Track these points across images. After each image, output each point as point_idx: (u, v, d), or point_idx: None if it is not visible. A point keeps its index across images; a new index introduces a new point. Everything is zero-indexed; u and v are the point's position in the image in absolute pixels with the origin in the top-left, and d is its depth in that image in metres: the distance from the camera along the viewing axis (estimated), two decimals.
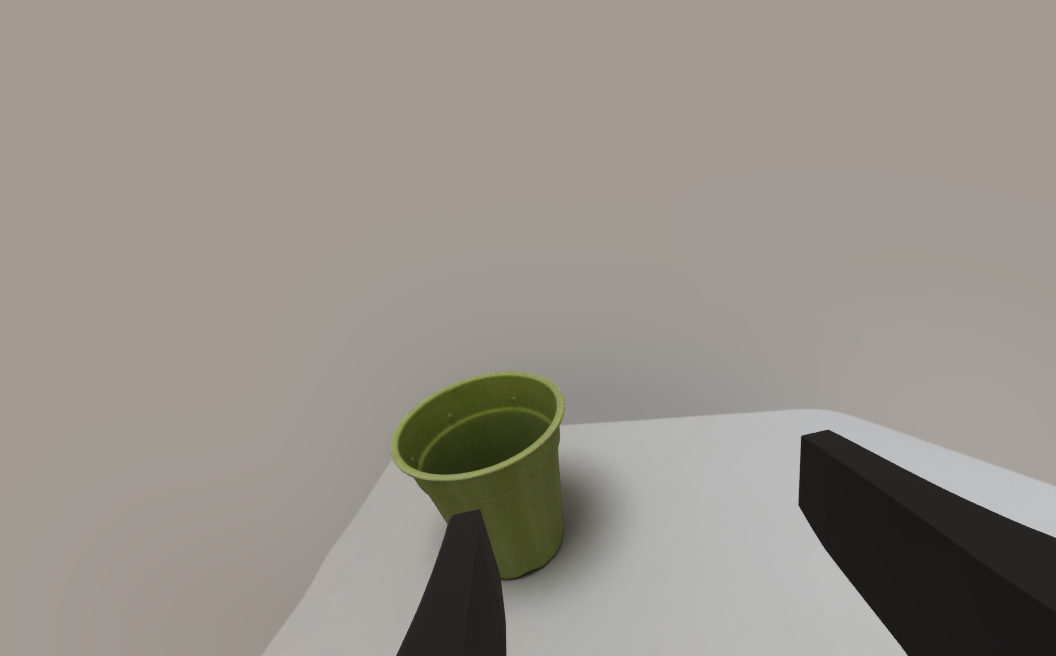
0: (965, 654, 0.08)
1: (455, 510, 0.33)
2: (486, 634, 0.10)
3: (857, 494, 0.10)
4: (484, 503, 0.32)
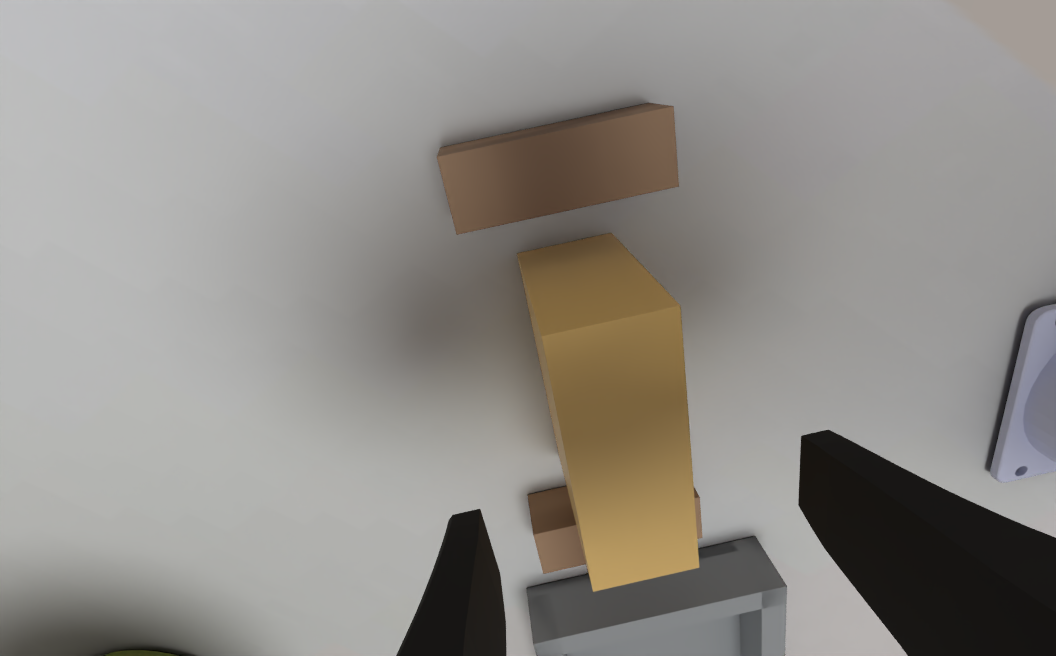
0: (965, 654, 0.08)
1: None
2: (486, 633, 0.10)
3: (857, 494, 0.10)
4: None
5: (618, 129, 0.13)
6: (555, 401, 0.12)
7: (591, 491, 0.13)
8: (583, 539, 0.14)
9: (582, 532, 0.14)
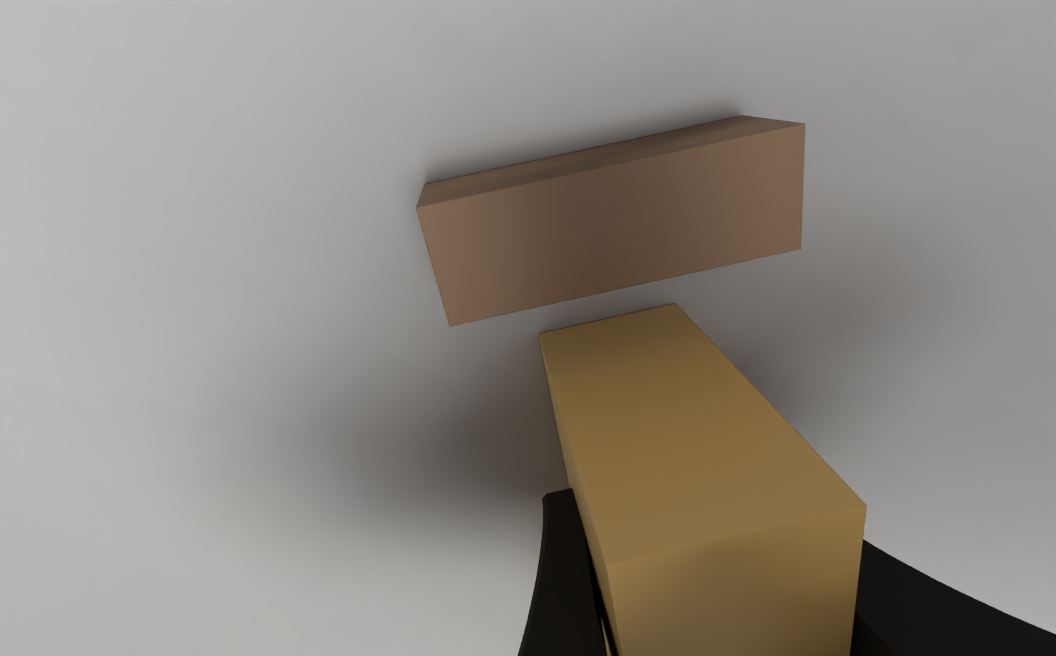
0: None
1: None
2: (597, 608, 0.10)
3: None
4: None
5: (713, 161, 0.08)
6: None
7: None
8: None
9: None
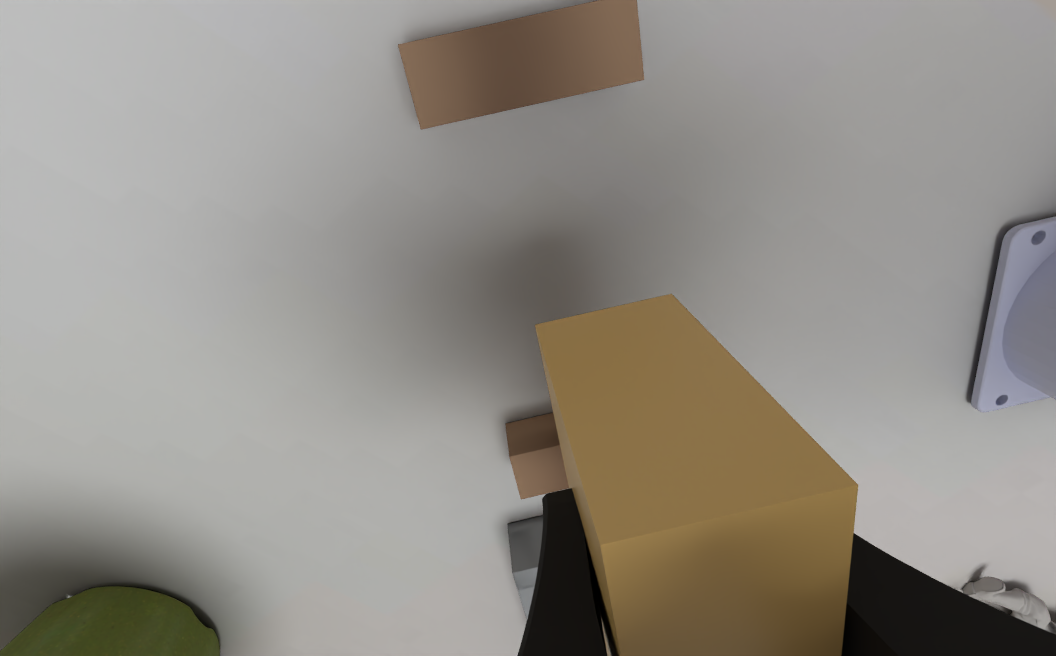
0: None
1: None
2: (597, 608, 0.10)
3: None
4: None
5: (581, 16, 0.13)
6: (619, 637, 0.07)
7: None
8: None
9: None
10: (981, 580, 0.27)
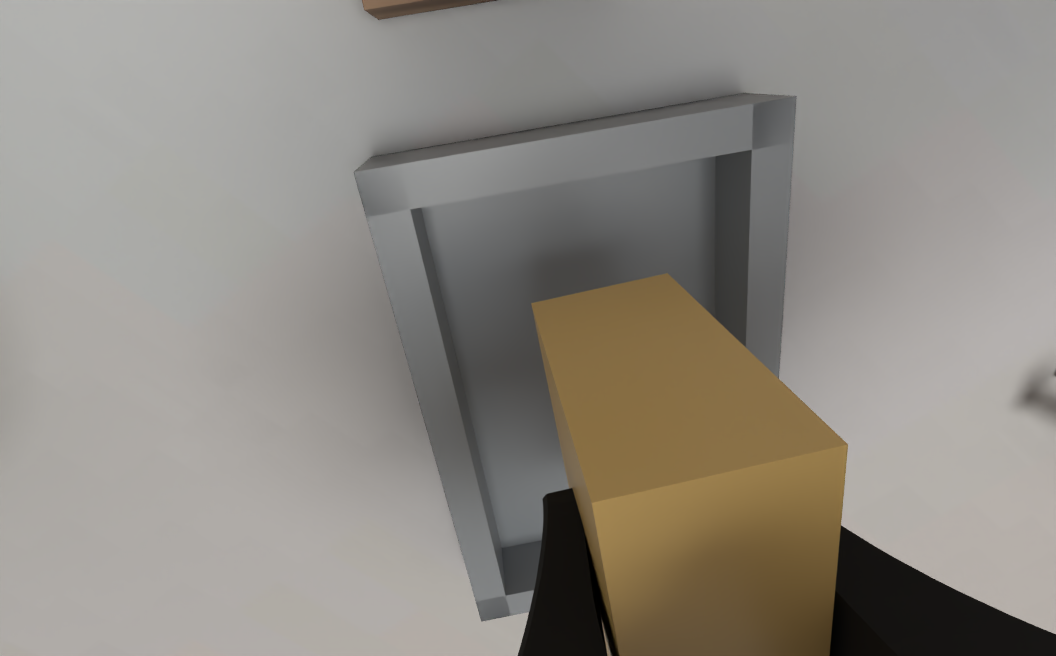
0: None
1: None
2: (597, 608, 0.10)
3: None
4: None
5: None
6: (611, 599, 0.07)
7: None
8: None
9: None
10: None
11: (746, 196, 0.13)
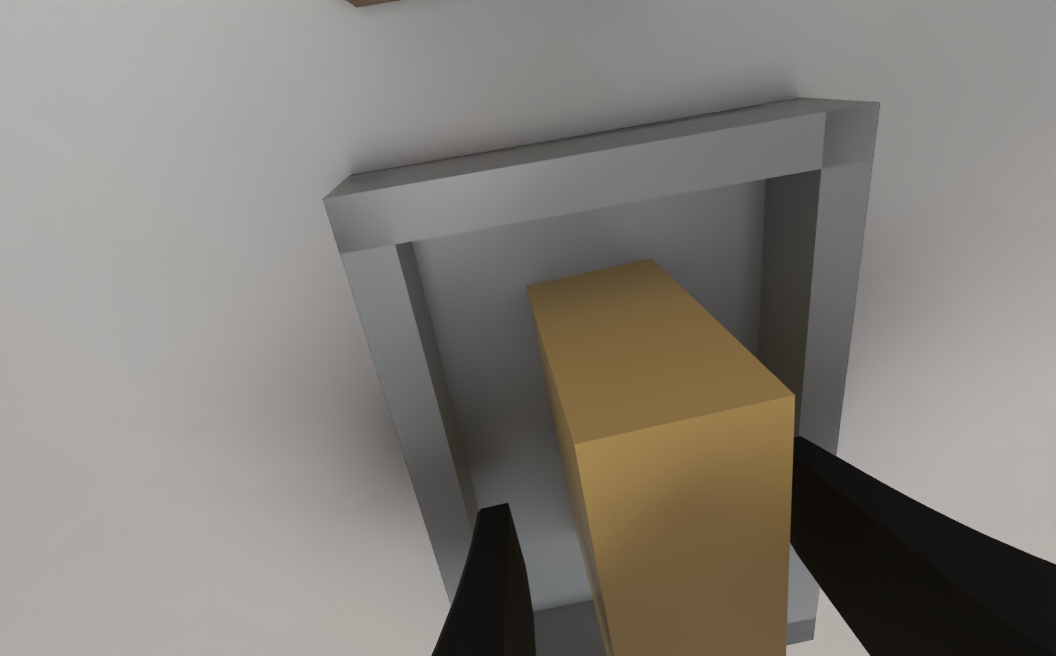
0: None
1: None
2: (520, 626, 0.10)
3: (825, 501, 0.10)
4: None
5: None
6: (592, 534, 0.08)
7: (639, 648, 0.09)
8: None
9: None
10: None
11: (810, 225, 0.11)
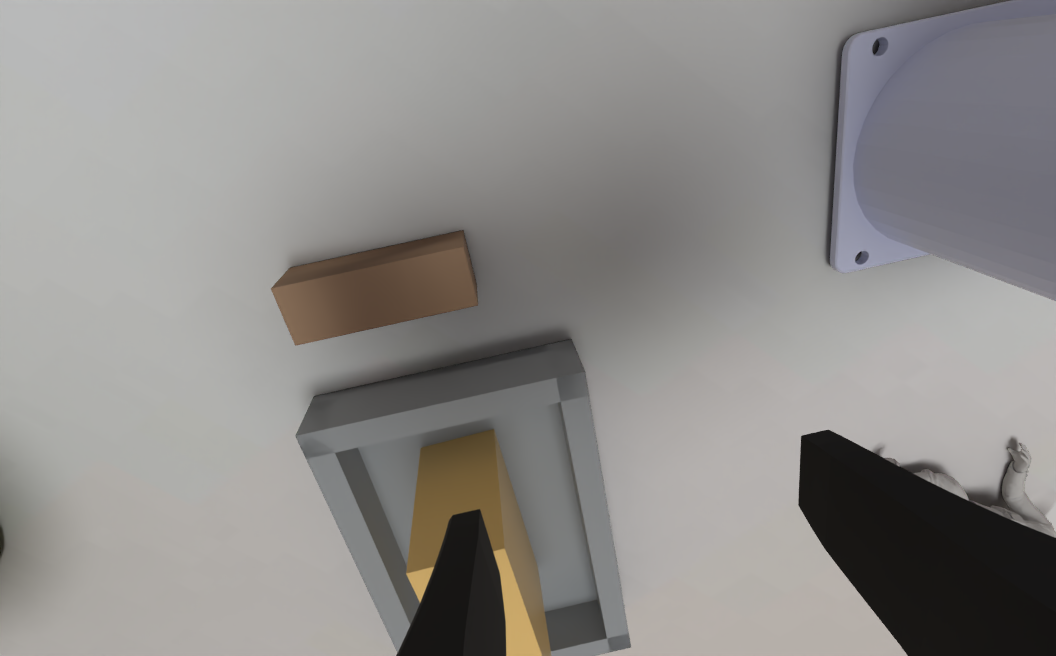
0: (965, 654, 0.08)
1: None
2: (486, 634, 0.10)
3: (857, 494, 0.10)
4: None
5: None
6: None
7: None
8: None
9: None
10: None
11: (565, 424, 0.19)
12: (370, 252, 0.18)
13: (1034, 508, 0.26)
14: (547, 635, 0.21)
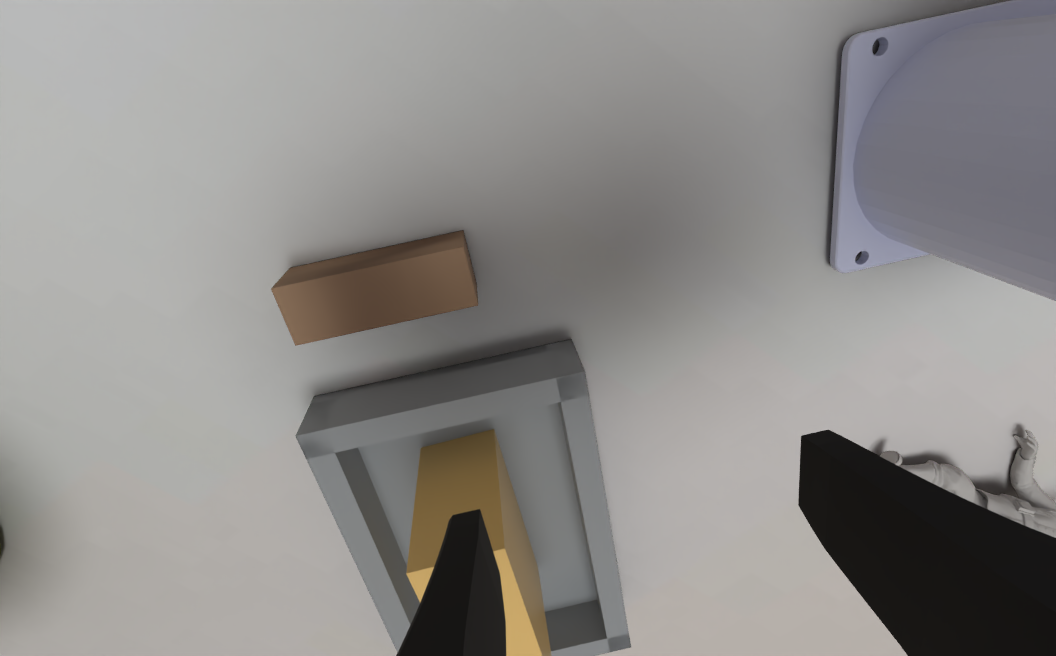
0: (965, 654, 0.08)
1: None
2: (486, 634, 0.10)
3: (857, 494, 0.10)
4: None
5: None
6: None
7: None
8: None
9: None
10: (880, 456, 0.24)
11: (565, 424, 0.19)
12: (370, 252, 0.18)
13: (1044, 495, 0.26)
14: (547, 635, 0.21)
